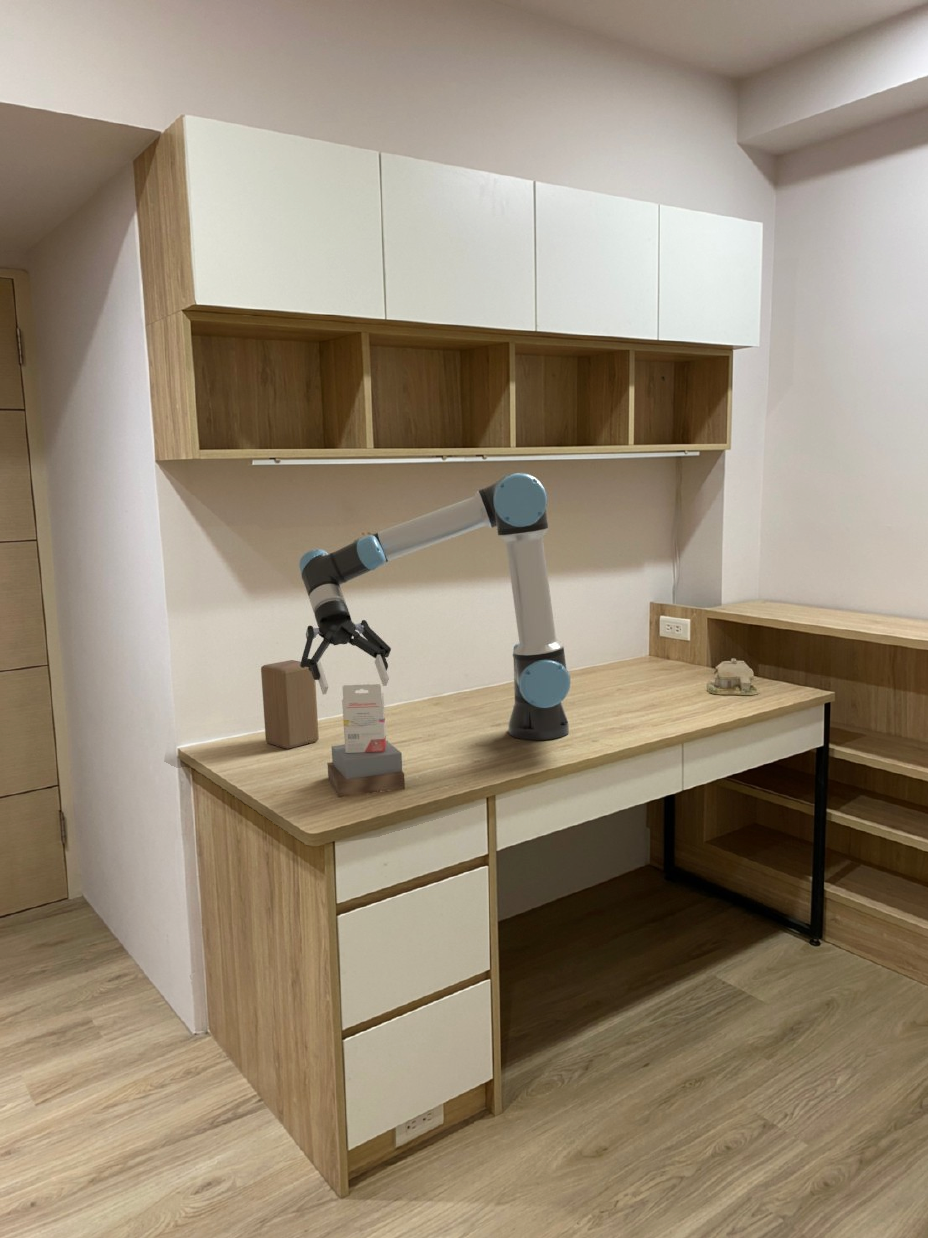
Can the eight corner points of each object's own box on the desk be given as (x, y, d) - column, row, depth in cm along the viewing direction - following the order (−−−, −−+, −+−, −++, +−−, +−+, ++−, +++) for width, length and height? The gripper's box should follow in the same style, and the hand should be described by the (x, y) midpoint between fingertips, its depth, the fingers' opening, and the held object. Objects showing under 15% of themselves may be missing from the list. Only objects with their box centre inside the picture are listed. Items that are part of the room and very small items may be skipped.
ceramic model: (751, 687, 277) (751, 654, 276) (762, 696, 266) (763, 661, 265) (703, 689, 278) (703, 655, 276) (713, 697, 266) (713, 663, 265)
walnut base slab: (390, 772, 209) (390, 755, 208) (405, 791, 195) (404, 773, 195) (328, 780, 205) (327, 762, 204) (338, 800, 191) (337, 781, 191)
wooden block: (264, 743, 234) (259, 665, 231) (297, 735, 241) (292, 658, 238) (286, 750, 227) (281, 669, 224) (320, 741, 234) (316, 663, 231)
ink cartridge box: (386, 745, 201) (383, 678, 199) (385, 752, 196) (382, 684, 194) (346, 746, 201) (343, 679, 199) (344, 753, 196) (341, 685, 194)
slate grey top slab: (385, 756, 207) (384, 739, 207) (402, 771, 196) (401, 752, 196) (332, 764, 203) (331, 746, 202) (346, 779, 192) (345, 760, 191)
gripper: (378, 614, 218) (406, 688, 207) (273, 625, 208) (296, 704, 196) (385, 593, 213) (414, 669, 202) (277, 603, 202) (302, 684, 191)
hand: (356, 686), depth 199 cm, fingers open, 13 cm apart
